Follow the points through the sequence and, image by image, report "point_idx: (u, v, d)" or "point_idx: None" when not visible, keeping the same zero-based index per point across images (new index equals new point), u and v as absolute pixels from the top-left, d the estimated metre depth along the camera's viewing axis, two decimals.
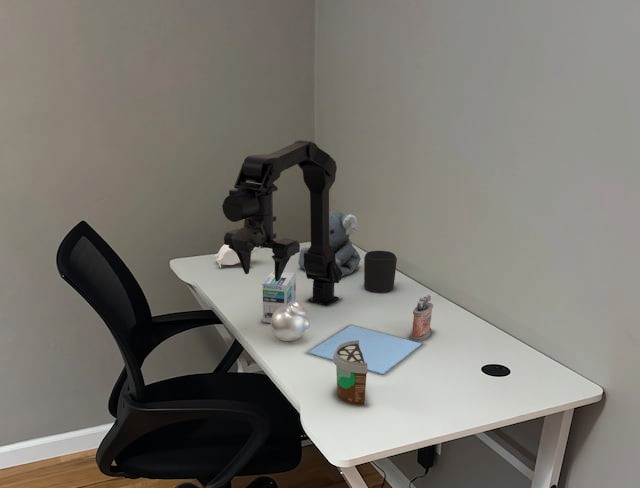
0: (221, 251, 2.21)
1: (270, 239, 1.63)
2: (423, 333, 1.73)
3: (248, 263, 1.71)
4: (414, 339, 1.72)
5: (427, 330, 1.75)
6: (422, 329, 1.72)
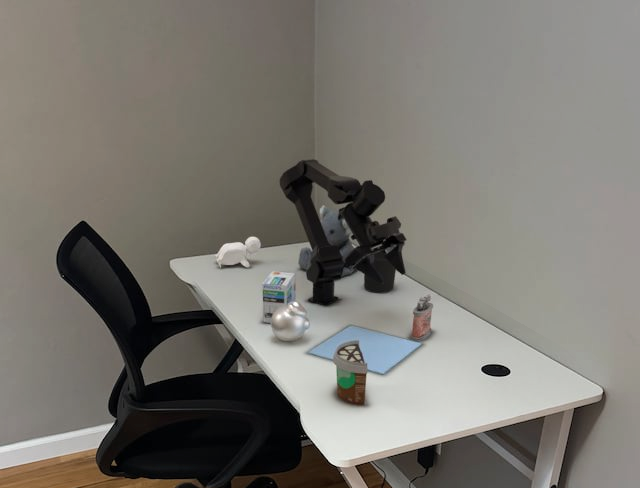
0: (221, 251, 2.21)
1: None
2: (423, 333, 1.73)
3: None
4: (414, 339, 1.72)
5: (427, 330, 1.75)
6: (422, 329, 1.72)
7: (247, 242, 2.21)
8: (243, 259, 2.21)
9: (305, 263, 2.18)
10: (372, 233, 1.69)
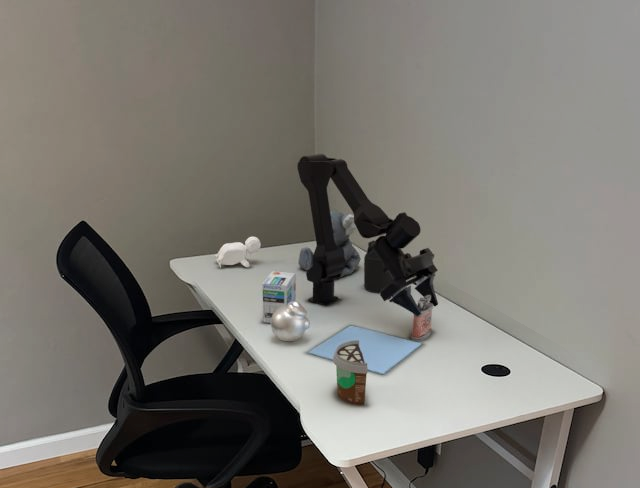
0: (221, 251, 2.21)
1: None
2: (423, 333, 1.73)
3: None
4: (414, 339, 1.72)
5: (427, 330, 1.75)
6: (422, 329, 1.72)
7: (247, 242, 2.21)
8: (243, 259, 2.21)
9: (305, 263, 2.18)
10: (406, 266, 1.68)
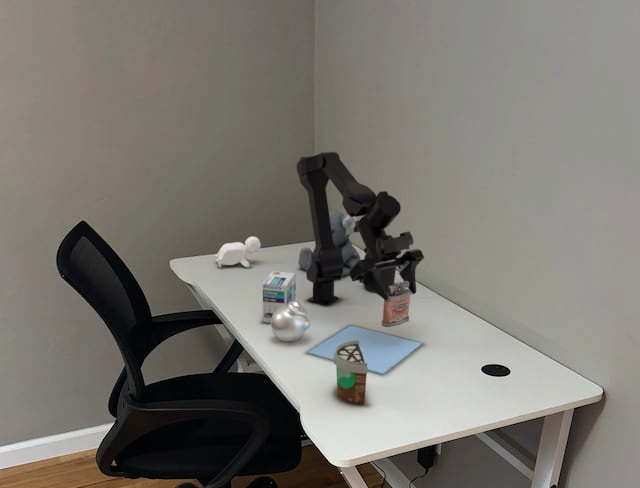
0: (221, 251, 2.21)
1: None
2: (394, 320, 1.66)
3: None
4: (383, 325, 1.66)
5: (401, 318, 1.67)
6: (392, 315, 1.65)
7: (247, 242, 2.21)
8: (243, 259, 2.22)
9: (305, 263, 2.18)
10: (380, 247, 1.62)
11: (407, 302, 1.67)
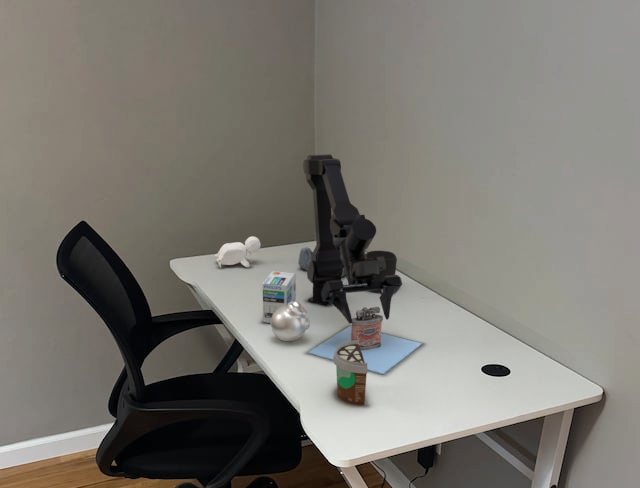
0: (221, 251, 2.21)
1: None
2: (362, 344, 1.66)
3: None
4: None
5: (370, 343, 1.66)
6: (359, 340, 1.65)
7: (247, 242, 2.21)
8: (243, 259, 2.22)
9: (305, 263, 2.18)
10: (352, 270, 1.62)
11: (377, 328, 1.66)
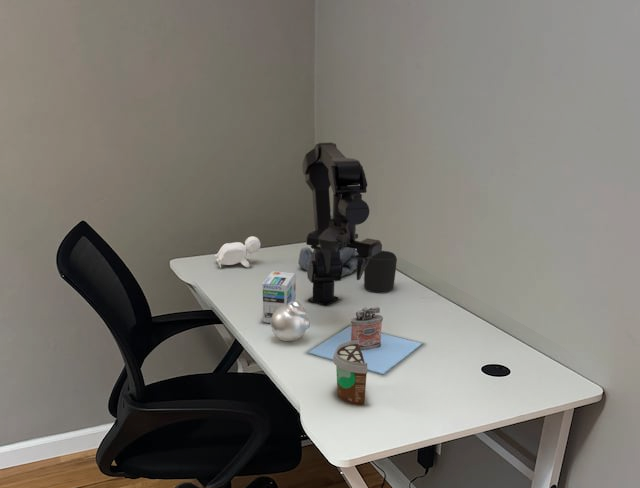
0: (221, 251, 2.21)
1: (353, 239, 1.70)
2: (362, 344, 1.66)
3: (328, 262, 1.77)
4: None
5: (370, 343, 1.66)
6: (359, 340, 1.65)
7: (247, 242, 2.21)
8: (243, 259, 2.22)
9: (305, 263, 2.18)
10: None
11: (377, 328, 1.66)
